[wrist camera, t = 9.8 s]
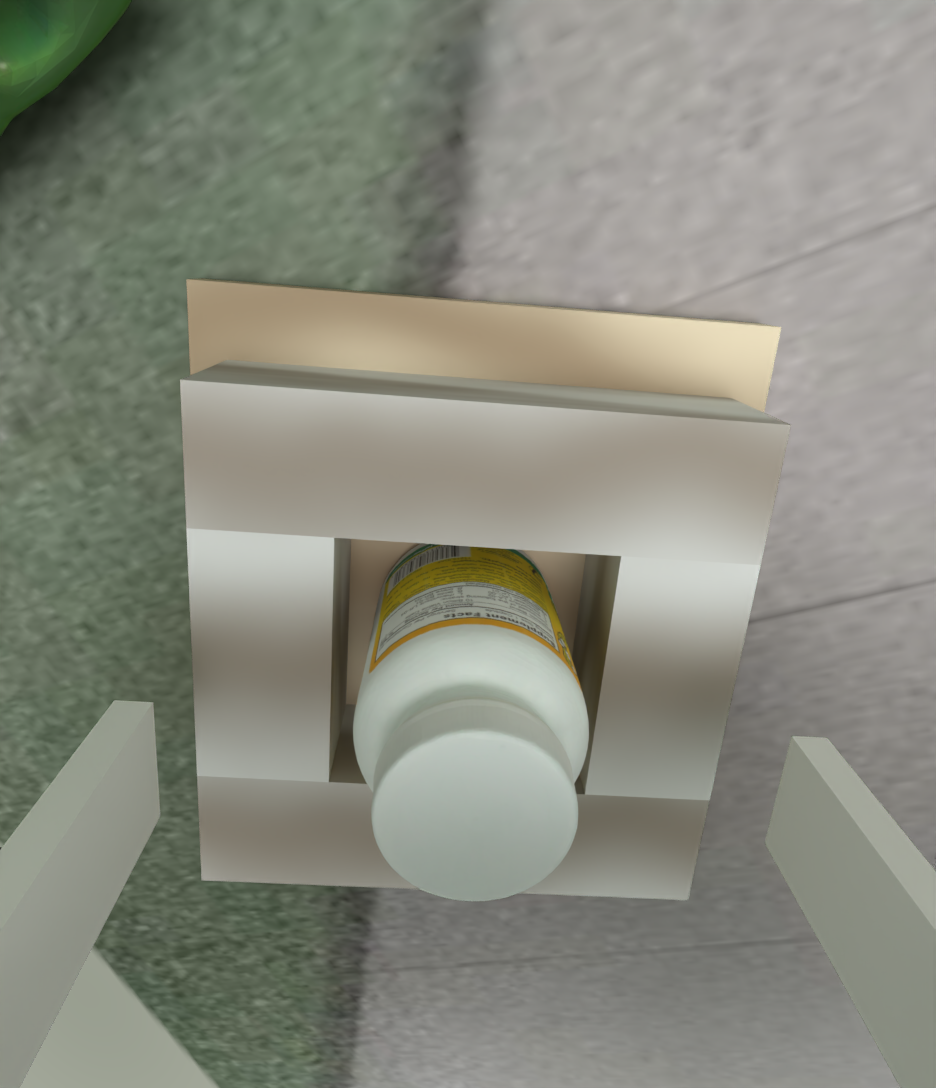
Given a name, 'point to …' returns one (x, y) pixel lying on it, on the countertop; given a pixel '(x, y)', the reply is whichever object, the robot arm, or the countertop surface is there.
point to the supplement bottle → (470, 723)
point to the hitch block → (466, 520)
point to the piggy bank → (47, 45)
